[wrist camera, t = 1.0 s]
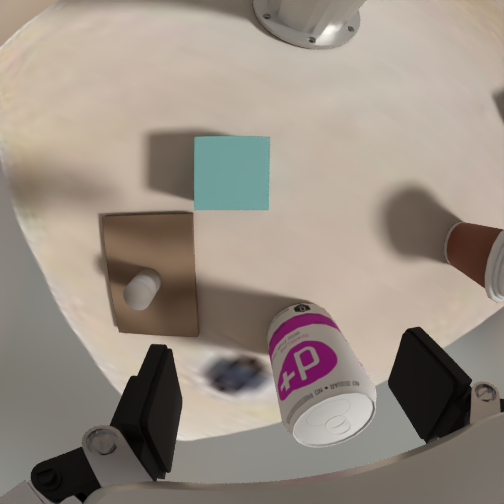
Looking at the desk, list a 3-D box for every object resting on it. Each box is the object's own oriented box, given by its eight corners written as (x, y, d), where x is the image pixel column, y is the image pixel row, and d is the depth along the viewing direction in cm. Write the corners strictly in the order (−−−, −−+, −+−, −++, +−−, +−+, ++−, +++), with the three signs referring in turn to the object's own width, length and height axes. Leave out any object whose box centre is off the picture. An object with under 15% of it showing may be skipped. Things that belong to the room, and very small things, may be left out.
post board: (106, 215, 28) (82, 224, 22) (193, 212, 28) (183, 221, 23) (121, 328, 31) (105, 352, 26) (199, 332, 32) (193, 359, 27)
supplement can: (252, 324, 32) (264, 422, 18) (314, 287, 31) (367, 368, 17) (286, 367, 34) (310, 460, 20) (341, 335, 33) (392, 418, 19)
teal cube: (203, 144, 26) (194, 136, 21) (262, 144, 27) (269, 136, 21) (202, 203, 28) (194, 210, 22) (261, 203, 28) (268, 210, 23)
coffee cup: (445, 204, 30) (513, 222, 18) (482, 219, 30) (541, 238, 19) (429, 271, 32) (488, 308, 20) (467, 277, 33) (520, 309, 21)
